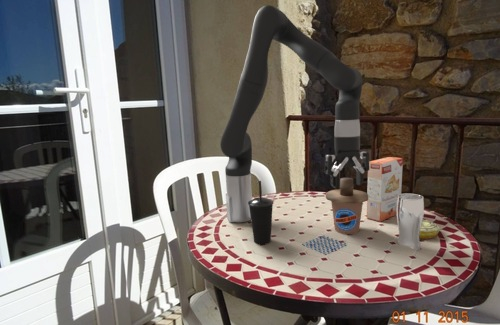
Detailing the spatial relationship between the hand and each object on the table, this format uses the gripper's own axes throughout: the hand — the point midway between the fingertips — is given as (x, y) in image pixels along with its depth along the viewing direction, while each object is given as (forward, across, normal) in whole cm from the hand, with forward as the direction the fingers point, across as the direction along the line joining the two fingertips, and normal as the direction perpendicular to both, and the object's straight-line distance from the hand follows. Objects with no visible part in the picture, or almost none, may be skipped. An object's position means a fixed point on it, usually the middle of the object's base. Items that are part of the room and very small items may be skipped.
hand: (346, 186), depth 106 cm
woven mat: (+16, +12, +8) cm, 22 cm away
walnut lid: (+4, 0, 0) cm, 4 cm away
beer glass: (+16, -11, +15) cm, 24 cm away
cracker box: (+16, -21, -10) cm, 28 cm away
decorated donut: (+16, -21, +8) cm, 28 cm away
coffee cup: (+16, 0, 0) cm, 16 cm away
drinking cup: (+16, +28, -1) cm, 32 cm away
